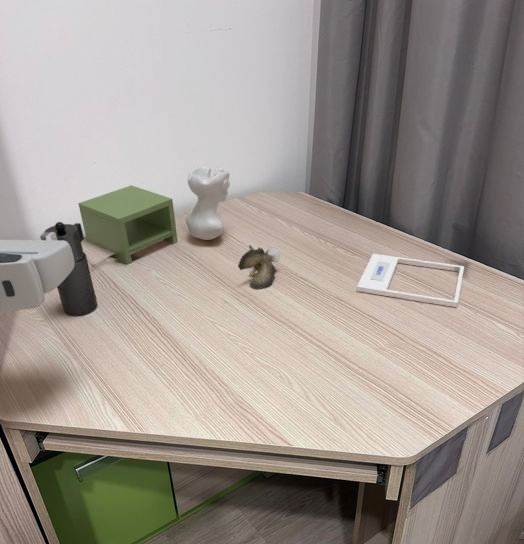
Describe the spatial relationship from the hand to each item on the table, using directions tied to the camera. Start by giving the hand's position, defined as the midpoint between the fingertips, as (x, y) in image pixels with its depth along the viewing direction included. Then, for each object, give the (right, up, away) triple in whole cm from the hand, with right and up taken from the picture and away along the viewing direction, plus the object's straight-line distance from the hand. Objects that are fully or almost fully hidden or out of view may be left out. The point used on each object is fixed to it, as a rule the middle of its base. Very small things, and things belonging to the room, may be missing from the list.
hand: (20, 236), depth 77 cm
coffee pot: (+2, -7, +23) cm, 24 cm away
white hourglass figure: (+23, +9, +45) cm, 52 cm away
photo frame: (+63, -3, +26) cm, 69 cm away
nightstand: (+6, +7, +43) cm, 44 cm away
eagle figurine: (+34, -2, +29) cm, 45 cm away
